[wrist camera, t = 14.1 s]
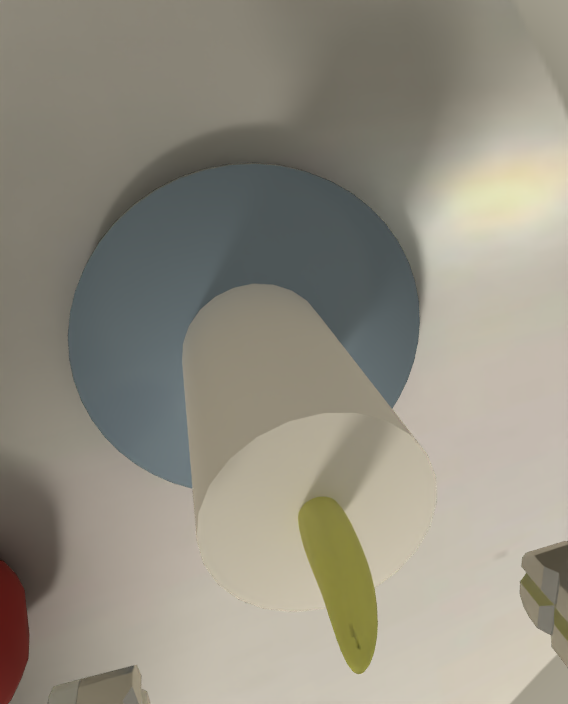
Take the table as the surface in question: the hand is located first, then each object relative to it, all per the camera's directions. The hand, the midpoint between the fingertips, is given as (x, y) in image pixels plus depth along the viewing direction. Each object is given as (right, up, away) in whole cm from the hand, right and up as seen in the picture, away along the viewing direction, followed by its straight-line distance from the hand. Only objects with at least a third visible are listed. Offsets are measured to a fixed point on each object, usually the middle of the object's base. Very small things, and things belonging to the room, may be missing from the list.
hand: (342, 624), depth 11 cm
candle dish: (-3, +6, +13) cm, 15 cm away
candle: (-2, +5, +12) cm, 14 cm away
